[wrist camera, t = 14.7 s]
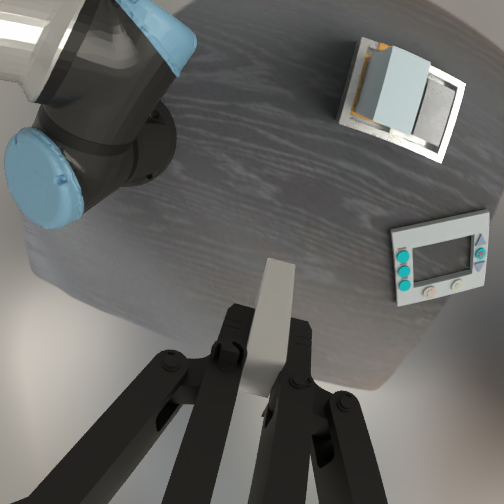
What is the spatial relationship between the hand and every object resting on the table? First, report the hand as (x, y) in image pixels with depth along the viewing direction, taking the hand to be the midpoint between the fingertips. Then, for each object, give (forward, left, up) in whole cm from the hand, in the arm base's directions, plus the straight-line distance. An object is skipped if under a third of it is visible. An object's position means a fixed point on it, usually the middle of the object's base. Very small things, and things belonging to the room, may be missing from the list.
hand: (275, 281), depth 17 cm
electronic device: (+29, -8, -30) cm, 43 cm away
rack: (+12, +13, -29) cm, 34 cm away
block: (+8, +13, -27) cm, 31 cm away
